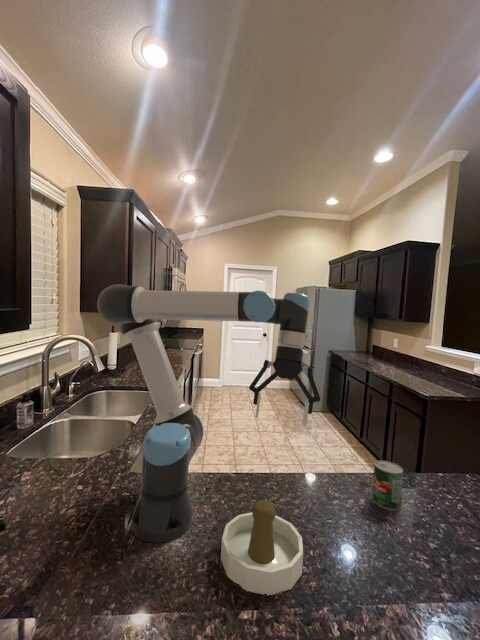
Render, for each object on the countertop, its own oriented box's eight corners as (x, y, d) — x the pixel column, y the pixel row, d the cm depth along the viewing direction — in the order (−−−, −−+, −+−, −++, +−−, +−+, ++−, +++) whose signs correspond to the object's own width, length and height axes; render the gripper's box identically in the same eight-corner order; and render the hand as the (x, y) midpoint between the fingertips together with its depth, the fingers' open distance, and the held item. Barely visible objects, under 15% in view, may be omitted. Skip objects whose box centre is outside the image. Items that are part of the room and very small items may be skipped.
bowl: (213, 584, 59) (214, 562, 59) (230, 525, 76) (231, 507, 76) (303, 602, 56) (305, 578, 56) (299, 536, 74) (300, 518, 74)
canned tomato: (404, 503, 91) (406, 467, 91) (397, 514, 85) (399, 476, 85) (377, 491, 96) (379, 457, 96) (368, 501, 90) (370, 465, 90)
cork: (273, 567, 63) (276, 515, 63) (245, 560, 64) (248, 510, 64) (275, 546, 69) (278, 498, 69) (250, 540, 70) (253, 494, 70)
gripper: (331, 352, 88) (322, 425, 87) (248, 340, 91) (238, 410, 90) (337, 353, 81) (327, 432, 79) (246, 340, 84) (235, 415, 82)
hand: (280, 420), depth 84 cm, fingers open, 13 cm apart
